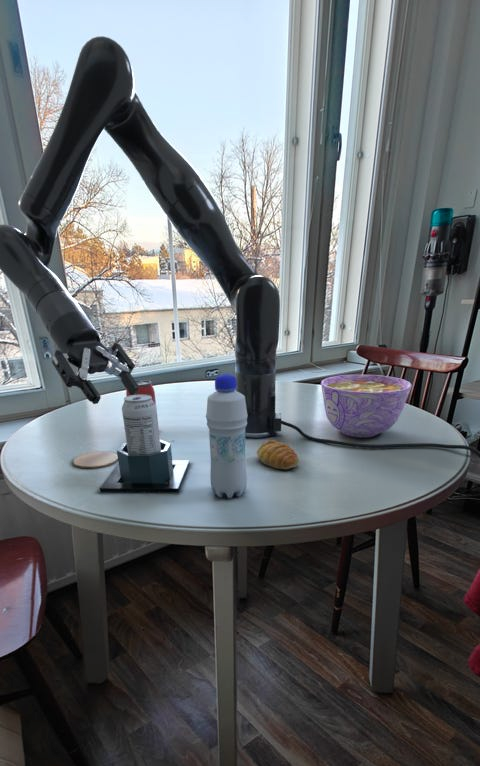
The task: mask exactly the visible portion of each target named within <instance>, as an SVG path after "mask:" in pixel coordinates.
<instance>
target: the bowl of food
mask: <svg viewBox="0 0 480 766" xmlns="http://www.w3.org/2000/svg"><path fill="white" fill-rule="evenodd" d="M320 386H321V392H322V399H323V406H324V411H325V416H326V419H327V421H328V422H329V424H330V425H331V426H332V427H333V428H335V429H337V430H338V431H341V432H342V433H343V434H344V435H345V436H348V437H353V438H372V437H373V438H374V437H376V436H377V435H378V434H381V433H384V432H386V431H388V430H390V429H392V427H393V426H394V425H395V424H396V423H397V422H398V420H399V418H400V417H401V414H402V412H403V410H404V407H405V404H406V402H407V399H408V397H409V395H410V393H411V389H412V387H413V385H412V383H411V382H410V381H408V380H406V379H403V378H399V377H394V376H389V375H388V376H387V375H381V374H379V375H378V374H341V375H335V376H330V377H326V378H324V379H322V380H321V382H320Z"/></svg>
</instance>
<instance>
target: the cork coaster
mask: <svg viewBox="0 0 480 766" xmlns="http://www.w3.org/2000/svg"><path fill="white" fill-rule="evenodd" d="M116 462H118V456H117V453H115V452H111V451H91V452H87V453H83V454H80V455H78V456H76V457H75V458H74V459H73V465H74V466H75V467H77V468H81V469H98V468H104V467H108V466H111V465H113V464H115V463H116Z"/></svg>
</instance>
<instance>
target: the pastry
mask: <svg viewBox="0 0 480 766" xmlns="http://www.w3.org/2000/svg"><path fill="white" fill-rule="evenodd" d="M256 455H257V458H258V460H259V462H261V463H262V464H264V465H266V466H269V467H270V468H273V469H277V470H290V469H292V468H295V467H297V466H298V464H299V462H300V459H299V457H298V454H297V453H296V452H295V450H294V449H292V448H291V446H290V445H289V444H286V443H285V442H283V441H282V442H281V441H280V442H278V440H274V439H268V440H265V441H264V442H262V443H261V445H260V446H259V447H258V449H257V451H256Z"/></svg>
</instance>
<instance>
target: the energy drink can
mask: <svg viewBox="0 0 480 766" xmlns="http://www.w3.org/2000/svg"><path fill="white" fill-rule="evenodd" d="M157 407H158V406H157V404H156V405H155V403H154V402H153V400H152V396H151V395H146V394H137V395H130V396H126V395H125V397H123V404H122V406H121V413H122V420H123V426H124V434H125V441H126V442H125V443H127V448H128V453H129V454H151V453H154V452H158V451H161V445H160V440H161V437H160V428H159V418H158V409H157Z"/></svg>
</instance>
